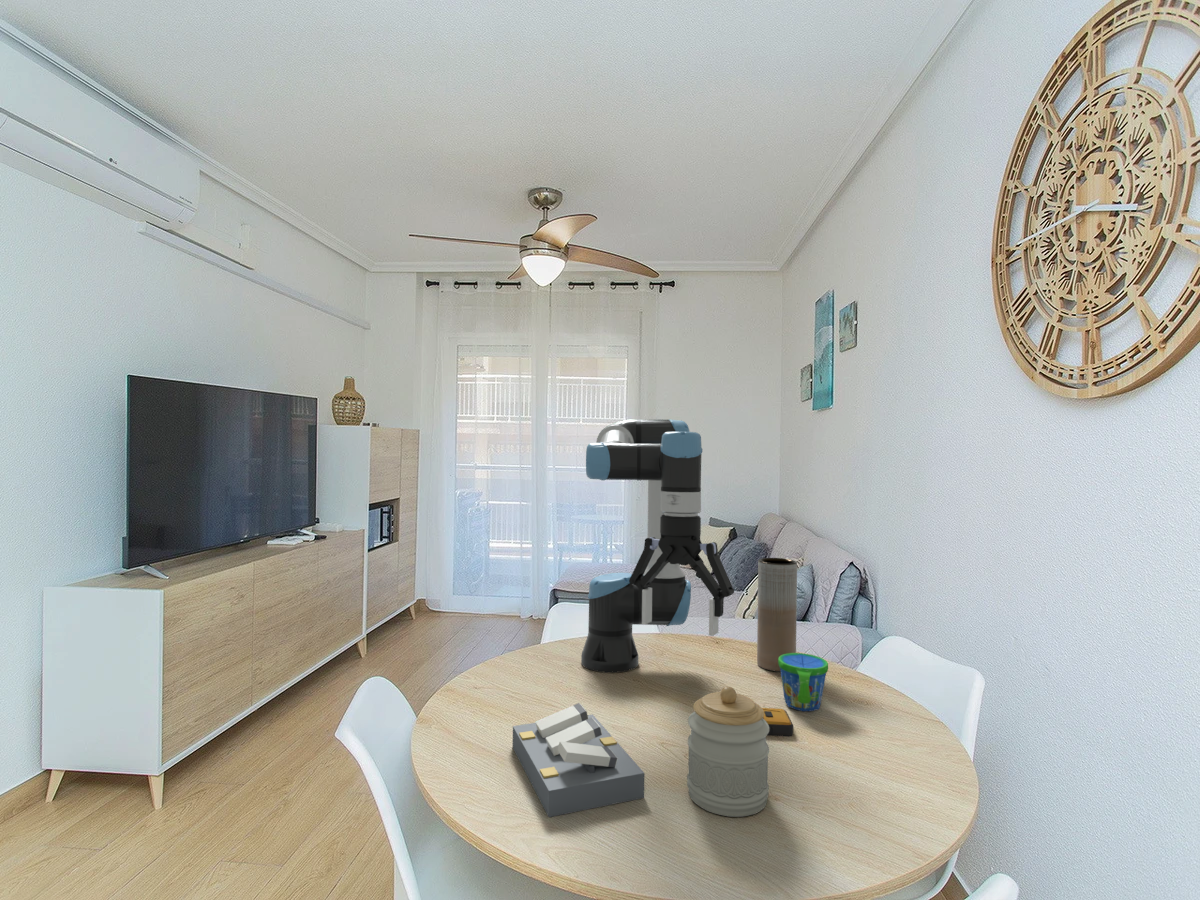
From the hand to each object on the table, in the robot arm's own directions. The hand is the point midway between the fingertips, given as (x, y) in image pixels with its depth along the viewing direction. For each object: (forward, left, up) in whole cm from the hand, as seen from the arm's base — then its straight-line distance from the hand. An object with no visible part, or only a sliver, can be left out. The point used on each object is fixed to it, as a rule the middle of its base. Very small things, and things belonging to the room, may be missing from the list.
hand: (679, 628), depth 116 cm
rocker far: (-7, -20, -17) cm, 28 cm away
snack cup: (-10, +37, -23) cm, 44 cm away
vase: (-34, +48, -23) cm, 63 cm away
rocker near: (+7, -20, -17) cm, 28 cm away
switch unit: (0, -20, -23) cm, 31 cm away
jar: (+16, +1, -23) cm, 28 cm away
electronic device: (-5, +20, -24) cm, 31 cm away
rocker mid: (0, -20, -17) cm, 27 cm away
